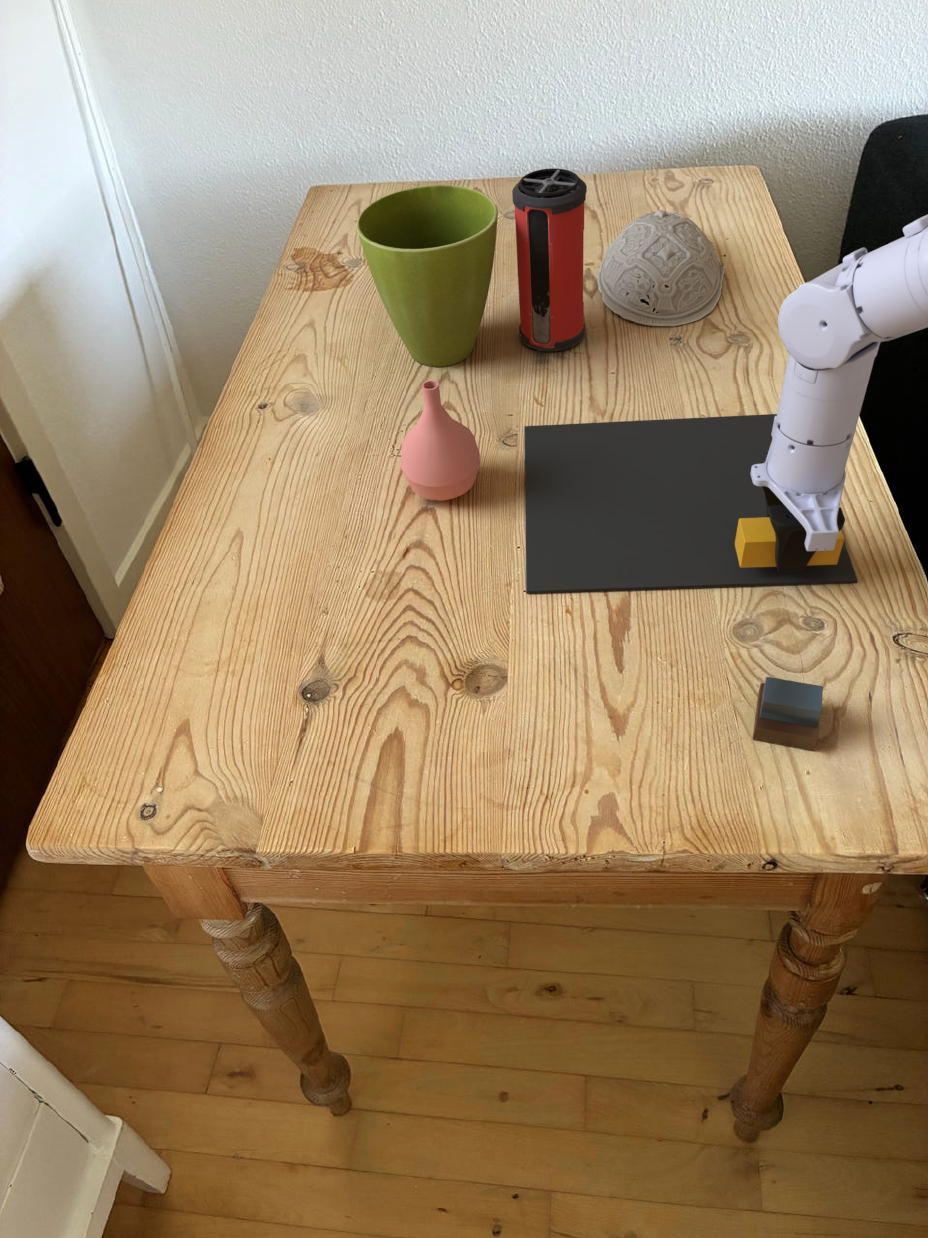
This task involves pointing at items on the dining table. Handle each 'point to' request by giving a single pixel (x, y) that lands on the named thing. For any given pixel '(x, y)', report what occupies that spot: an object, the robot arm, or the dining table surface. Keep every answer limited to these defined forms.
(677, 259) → the carved stone dome
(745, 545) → the bar
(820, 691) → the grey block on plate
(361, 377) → the dining table surface
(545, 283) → the speaker
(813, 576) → the mat
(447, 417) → the pink bud vase
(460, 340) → the flower pot
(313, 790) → the dining table surface
